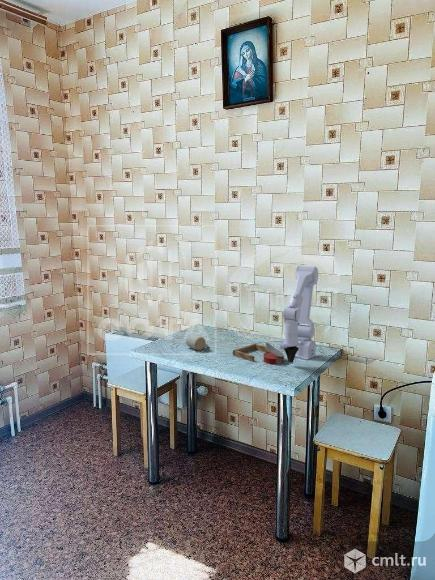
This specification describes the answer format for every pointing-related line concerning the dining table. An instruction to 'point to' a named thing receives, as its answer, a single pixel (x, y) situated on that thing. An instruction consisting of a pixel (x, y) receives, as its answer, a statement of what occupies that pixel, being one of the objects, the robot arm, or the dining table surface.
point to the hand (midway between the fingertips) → (290, 362)
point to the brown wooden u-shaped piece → (241, 351)
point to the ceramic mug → (196, 341)
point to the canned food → (273, 355)
